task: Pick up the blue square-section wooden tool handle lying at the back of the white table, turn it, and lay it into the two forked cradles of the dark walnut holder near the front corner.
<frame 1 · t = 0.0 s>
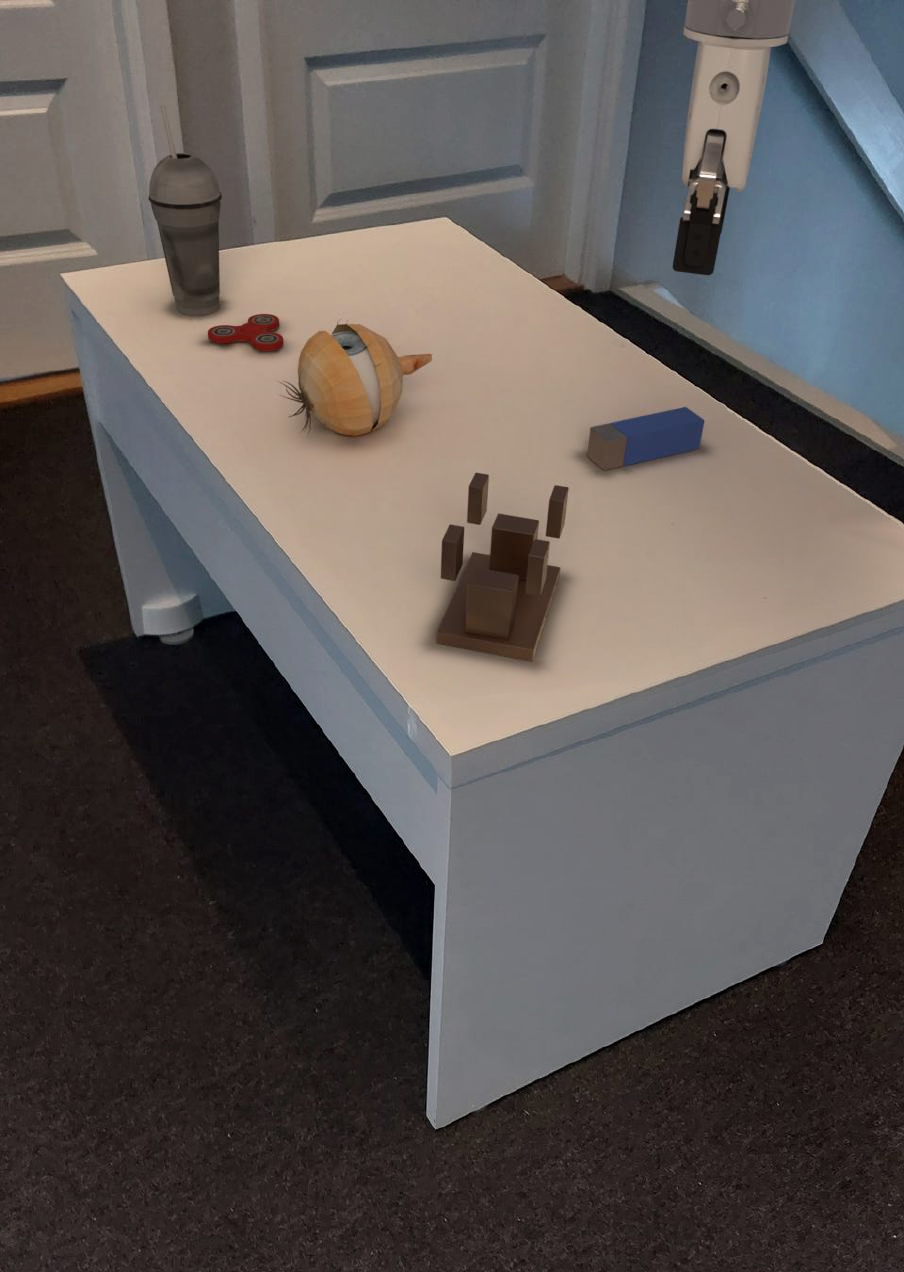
hand: (697, 251, 89), 16 cm above the table, tool pointing down, fingers open, 9 cm apart
fidget spinner: (245, 341, 111), on the table
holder: (500, 609, 77), on the table
beverage cup: (198, 309, 117), on the table
sculpture: (360, 427, 97), on the table
handle: (643, 452, 95), on the table
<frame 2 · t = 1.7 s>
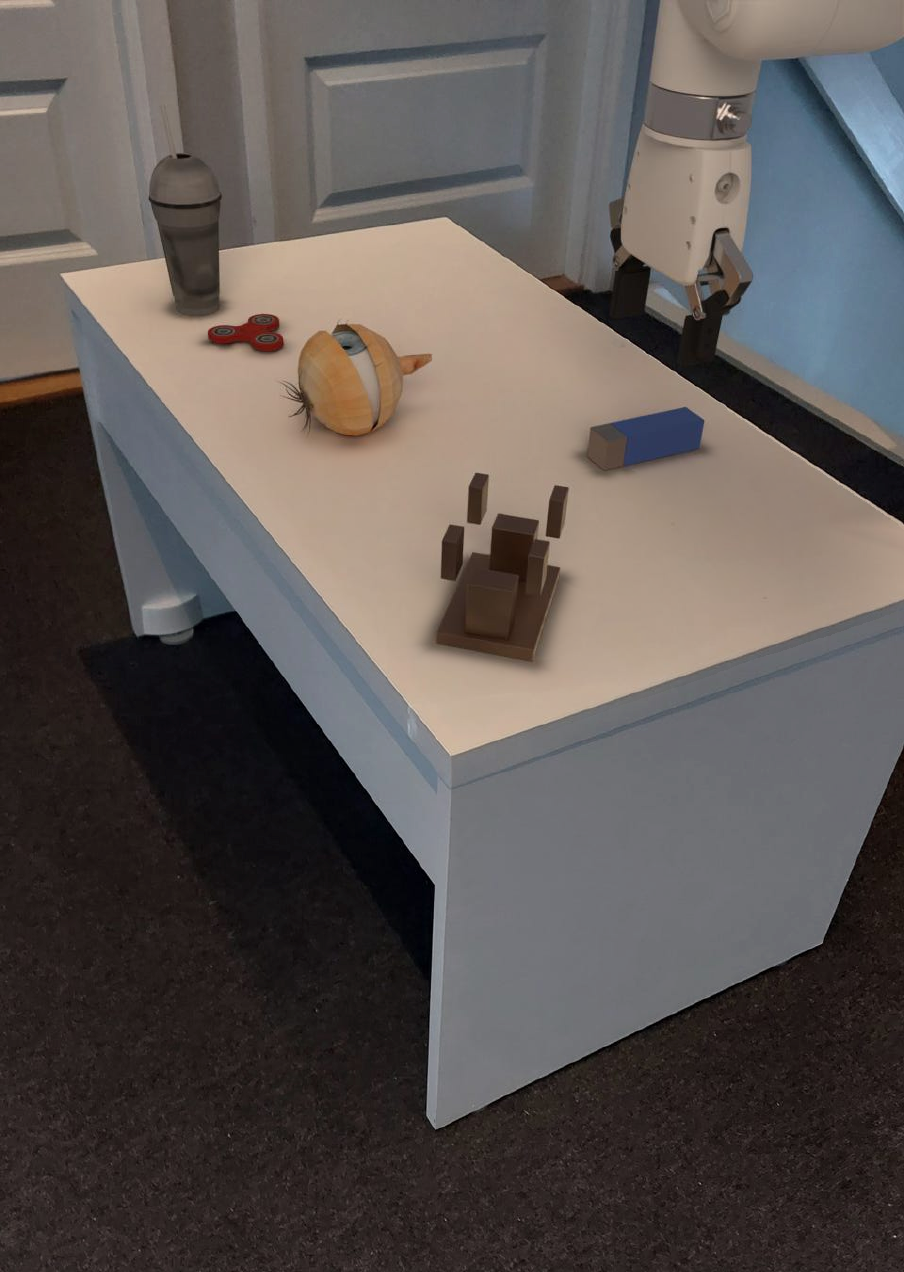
hand: (659, 338, 89), 10 cm above the table, tool pointing down, fingers open, 9 cm apart
nothing on the table moved.
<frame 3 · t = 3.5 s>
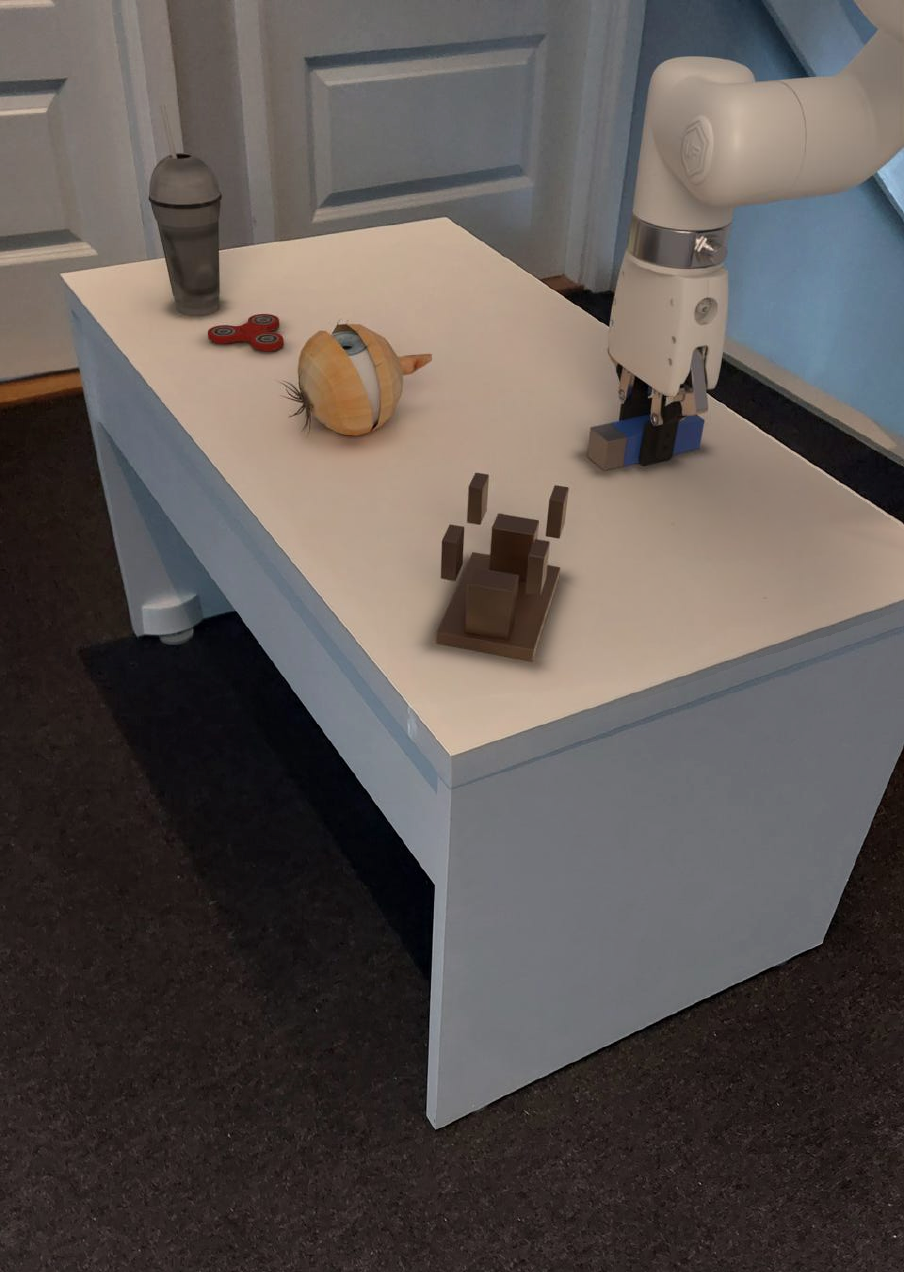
hand: (643, 450, 95), 0 cm above the table, tool pointing down, fingers closed on handle, 2 cm apart
handle: (643, 452, 95), on the table, touching gripper
everything else where it was.
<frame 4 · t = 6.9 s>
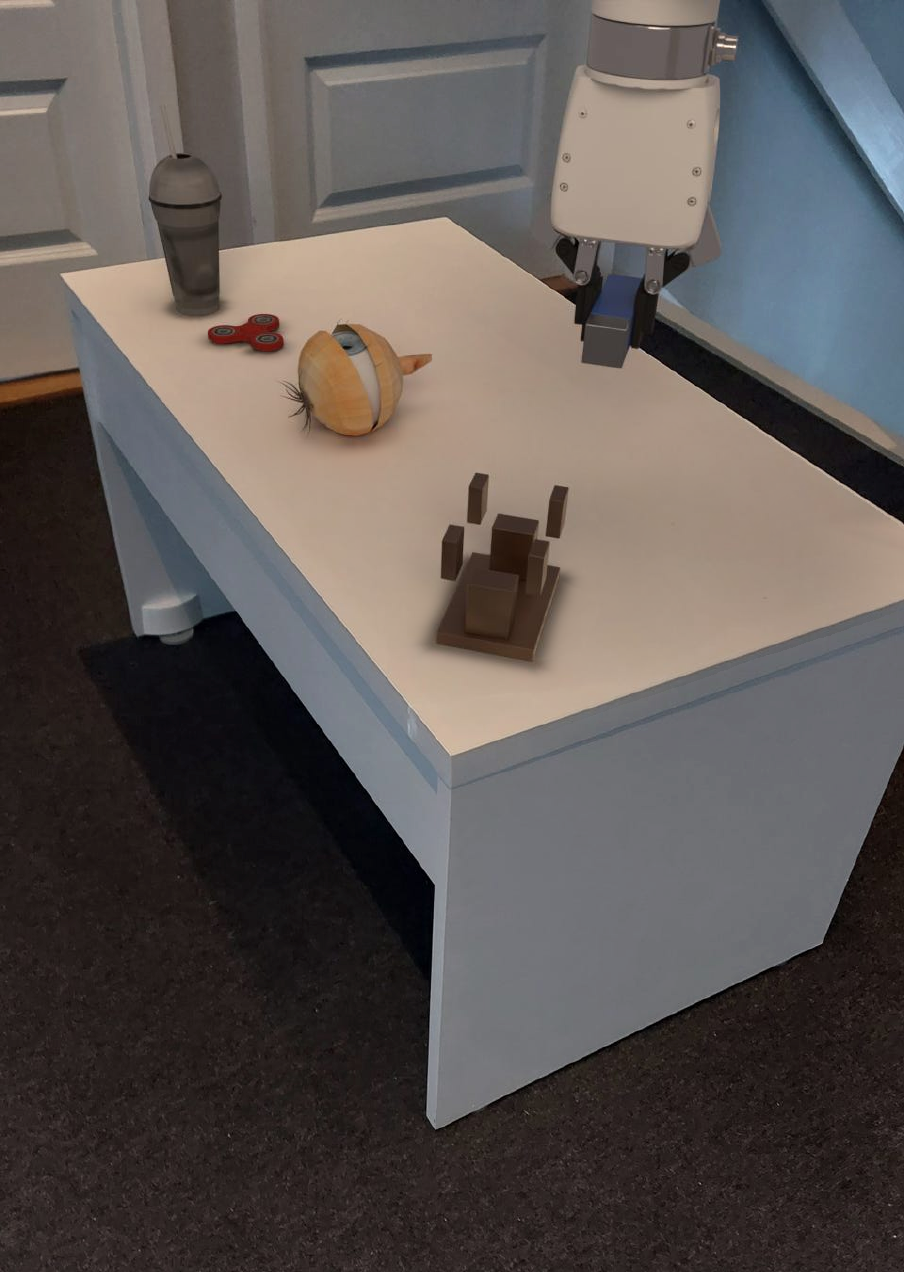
hand: (612, 335, 78), 15 cm above the table, tool pointing down, fingers closed on handle, 2 cm apart
handle: (612, 338, 78), point 15 cm above the table, touching gripper
everything else where it was.
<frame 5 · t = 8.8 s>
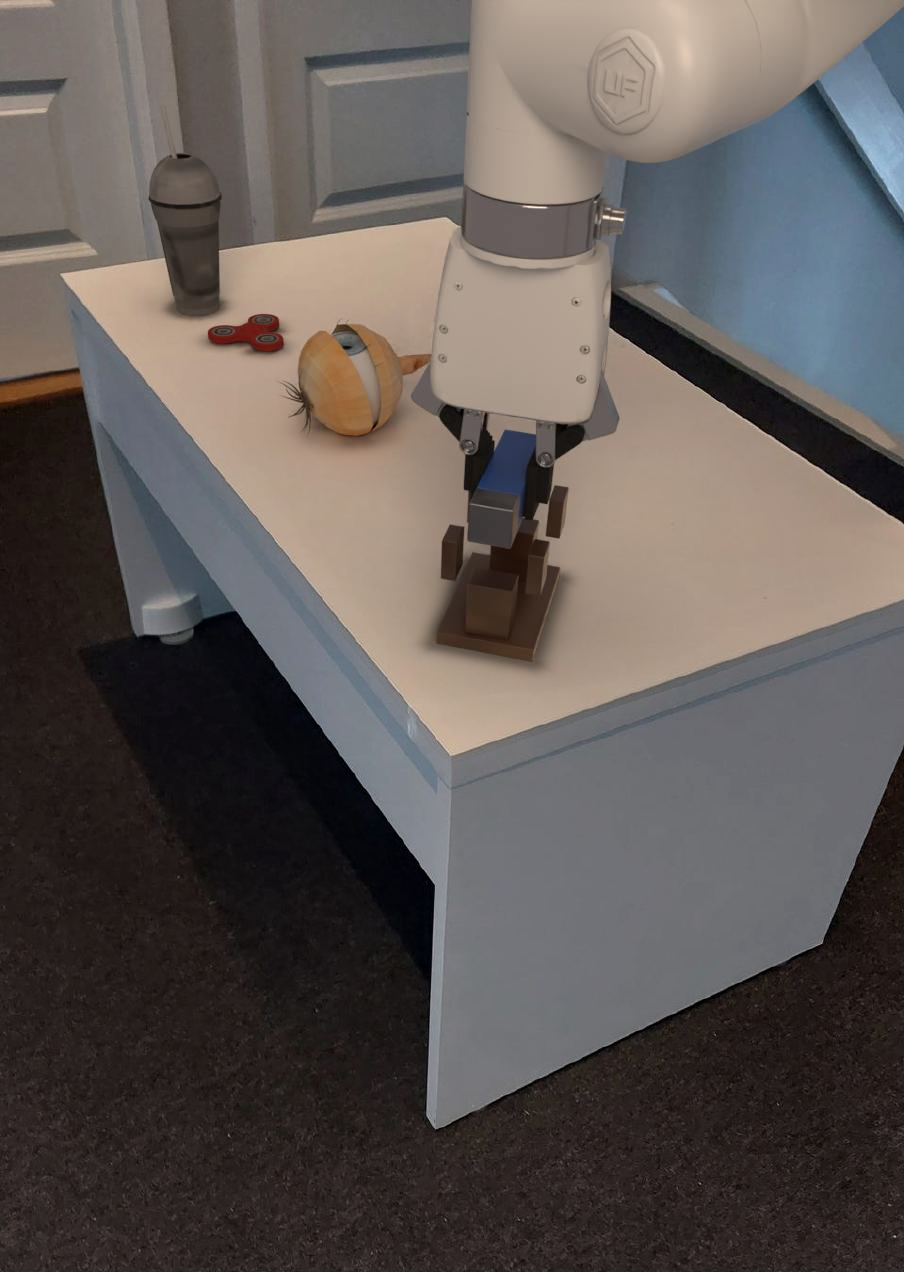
hand: (506, 502, 71), 9 cm above the table, tool pointing down, fingers closed on handle, 2 cm apart
handle: (505, 505, 71), point 8 cm above the table, touching gripper
everything else where it was.
when the fingers open (5 cm above the table, at t = 10.1 s): handle stays where it is, resting on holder.
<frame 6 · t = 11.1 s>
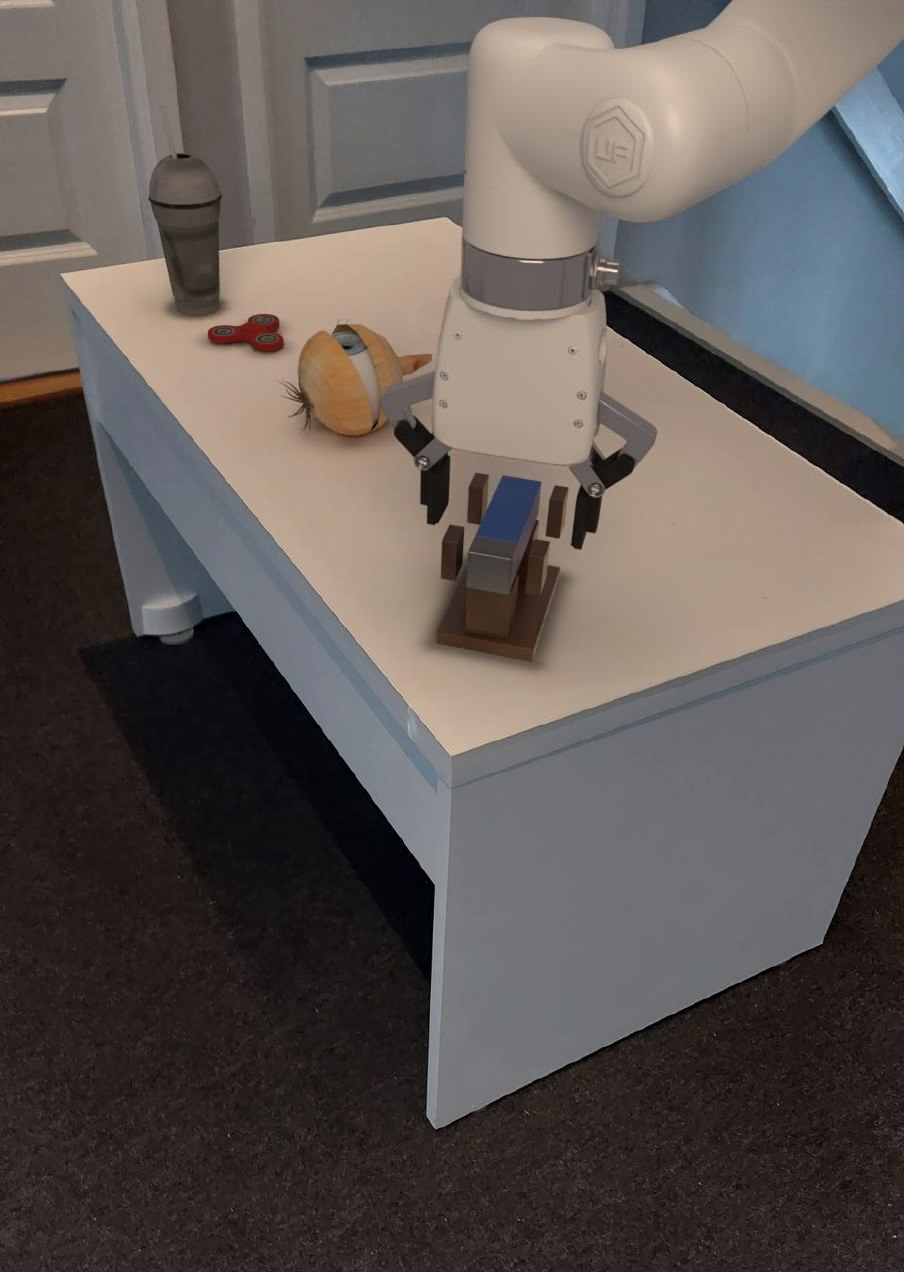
hand: (507, 526, 72), 7 cm above the table, tool pointing down, fingers open, 9 cm apart
handle: (503, 549, 73), point 5 cm above the table, touching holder
everything else where it was.
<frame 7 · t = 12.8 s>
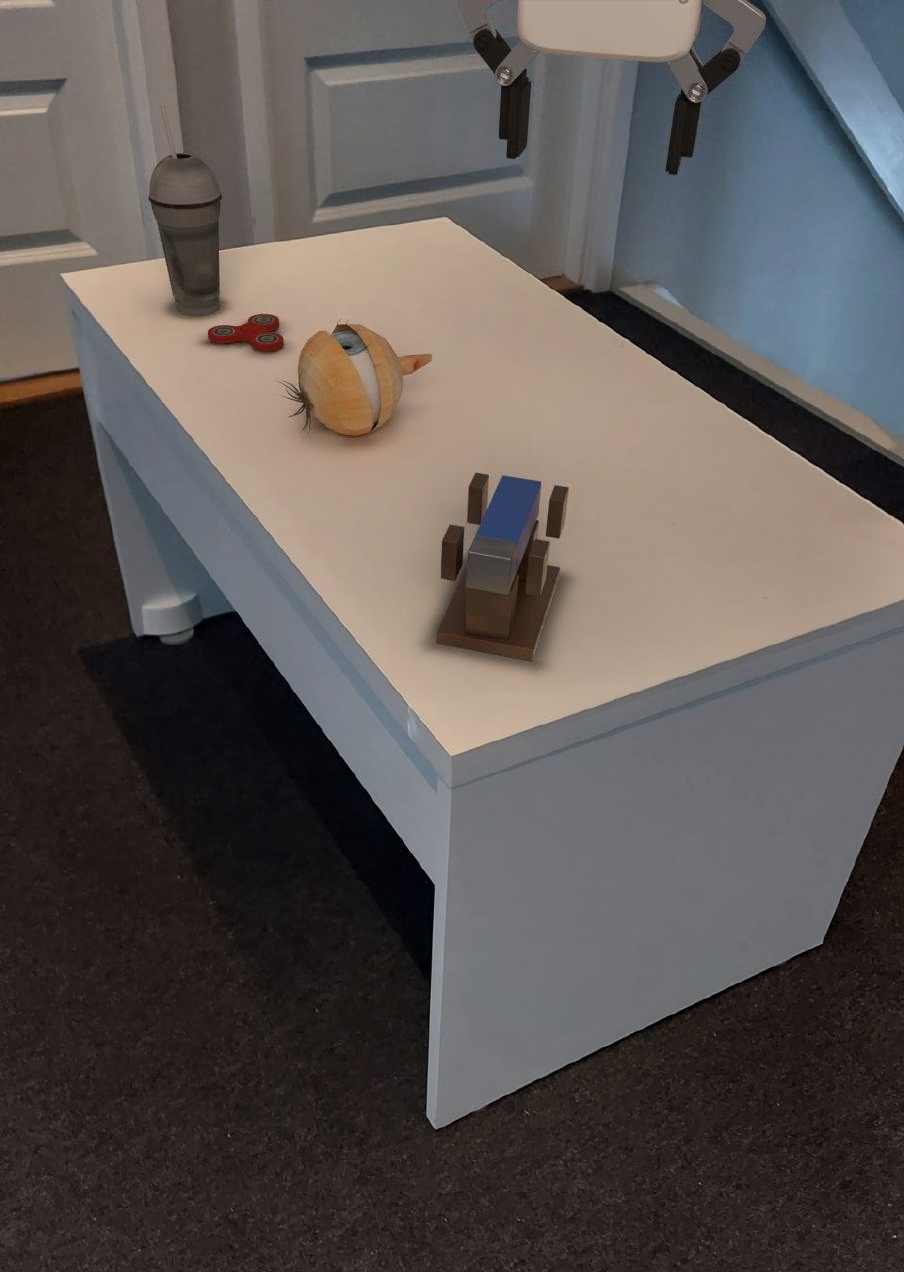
hand: (593, 161, 66), 28 cm above the table, tool pointing down, fingers open, 9 cm apart
nothing on the table moved.
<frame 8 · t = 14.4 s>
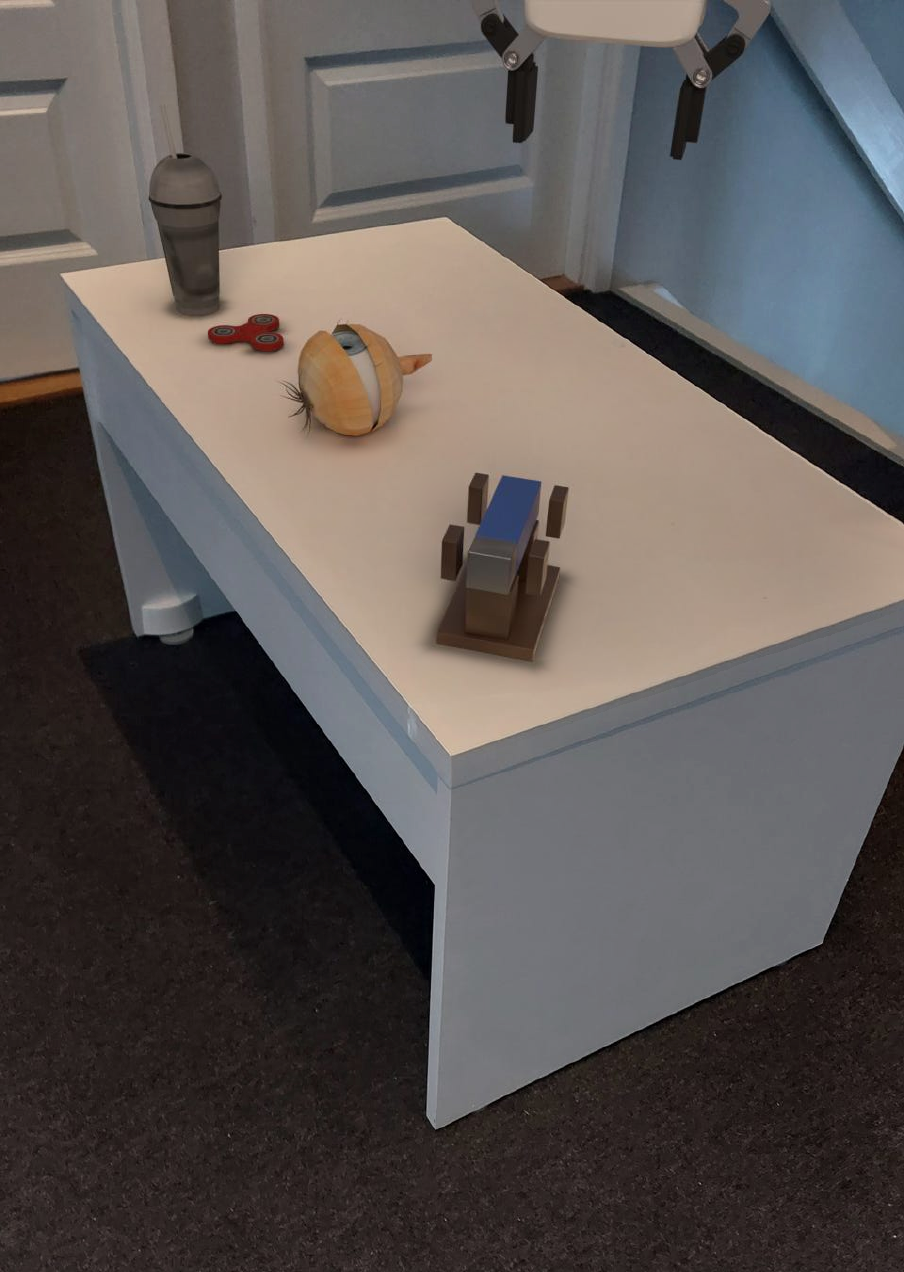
hand: (599, 145, 67), 28 cm above the table, tool pointing down, fingers open, 9 cm apart
nothing on the table moved.
at the end: handle 0.1 cm off-centre on the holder, point 5.0 cm above the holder's base; handle tilted 0°; the gripper is holding nothing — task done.
